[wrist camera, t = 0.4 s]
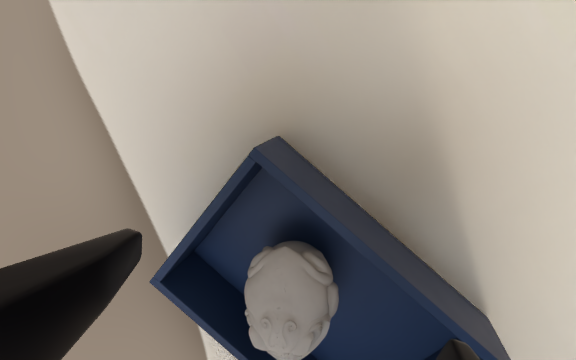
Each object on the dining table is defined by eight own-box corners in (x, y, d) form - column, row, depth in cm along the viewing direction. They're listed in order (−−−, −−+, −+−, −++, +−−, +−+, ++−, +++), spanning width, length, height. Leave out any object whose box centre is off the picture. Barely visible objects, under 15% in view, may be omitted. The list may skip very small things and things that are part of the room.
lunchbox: (188, 247, 26) (148, 282, 22) (278, 135, 22) (254, 147, 17) (364, 401, 26) (364, 470, 22) (488, 318, 22) (522, 381, 17)
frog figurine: (264, 301, 25) (229, 374, 19) (258, 217, 23) (216, 266, 17) (342, 309, 24) (334, 391, 17) (342, 221, 22) (332, 276, 15)
